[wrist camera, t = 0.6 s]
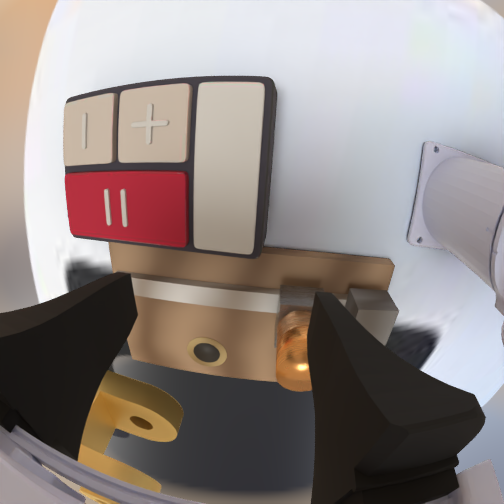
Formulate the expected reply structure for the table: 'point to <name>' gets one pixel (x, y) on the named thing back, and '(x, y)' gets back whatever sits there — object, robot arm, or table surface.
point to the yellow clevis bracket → (126, 427)
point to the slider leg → (293, 336)
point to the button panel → (172, 164)
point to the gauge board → (239, 303)
